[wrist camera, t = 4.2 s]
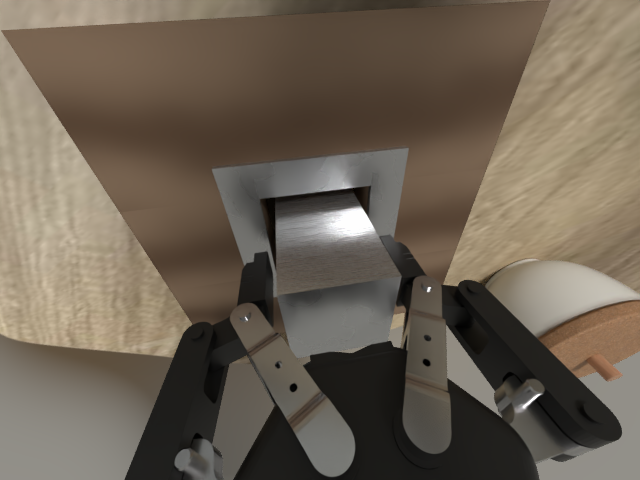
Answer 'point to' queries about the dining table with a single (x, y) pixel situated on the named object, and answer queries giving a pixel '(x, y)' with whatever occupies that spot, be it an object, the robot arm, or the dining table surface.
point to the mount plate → (284, 126)
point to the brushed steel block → (332, 274)
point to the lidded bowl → (572, 312)
